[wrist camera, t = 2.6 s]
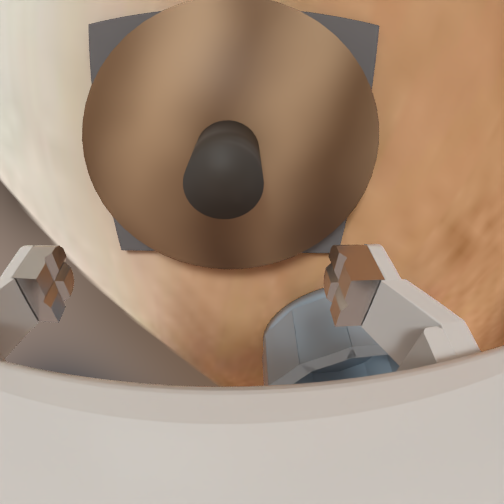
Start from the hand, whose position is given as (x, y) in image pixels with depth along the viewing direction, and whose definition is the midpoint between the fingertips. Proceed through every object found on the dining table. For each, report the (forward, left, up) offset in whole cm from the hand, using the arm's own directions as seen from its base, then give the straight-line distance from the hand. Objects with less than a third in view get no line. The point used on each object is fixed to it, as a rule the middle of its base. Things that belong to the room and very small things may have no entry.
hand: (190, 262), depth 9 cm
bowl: (-11, +18, -10) cm, 23 cm away
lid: (-1, 0, -10) cm, 10 cm away
